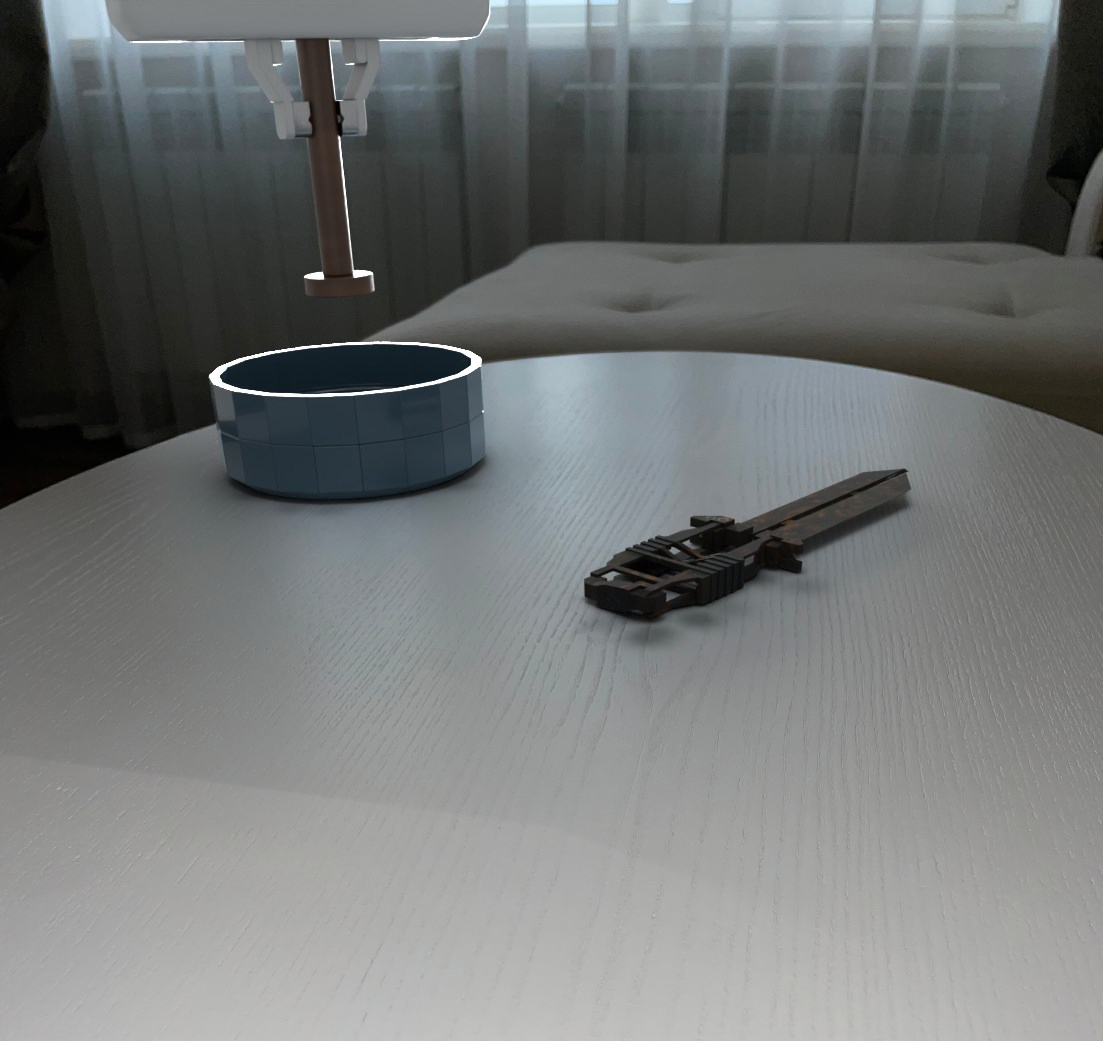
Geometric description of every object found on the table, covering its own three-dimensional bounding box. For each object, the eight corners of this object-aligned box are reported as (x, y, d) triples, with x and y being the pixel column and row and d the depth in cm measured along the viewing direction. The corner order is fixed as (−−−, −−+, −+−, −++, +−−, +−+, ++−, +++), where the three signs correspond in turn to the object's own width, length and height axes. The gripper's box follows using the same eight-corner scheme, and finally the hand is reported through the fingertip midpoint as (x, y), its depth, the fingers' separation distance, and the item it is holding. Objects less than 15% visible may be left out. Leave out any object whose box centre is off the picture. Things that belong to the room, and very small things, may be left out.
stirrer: (294, 297, 66) (250, -35, 59) (324, 287, 70) (287, -28, 62) (357, 298, 65) (322, -40, 58) (385, 287, 69) (355, -33, 61)
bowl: (174, 495, 68) (155, 391, 65) (299, 427, 81) (288, 339, 78) (432, 511, 64) (423, 401, 61) (518, 437, 77) (514, 344, 74)
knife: (884, 478, 67) (886, 454, 66) (983, 501, 63) (987, 476, 62) (553, 589, 53) (552, 560, 52) (652, 629, 49) (652, 598, 48)
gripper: (450, -152, 64) (467, 130, 70) (64, -178, 55) (124, 145, 62) (502, -175, 59) (515, 130, 66) (88, -208, 50) (150, 146, 57)
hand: (322, 137), depth 64 cm, fingers closed on stirrer, 2 cm apart
